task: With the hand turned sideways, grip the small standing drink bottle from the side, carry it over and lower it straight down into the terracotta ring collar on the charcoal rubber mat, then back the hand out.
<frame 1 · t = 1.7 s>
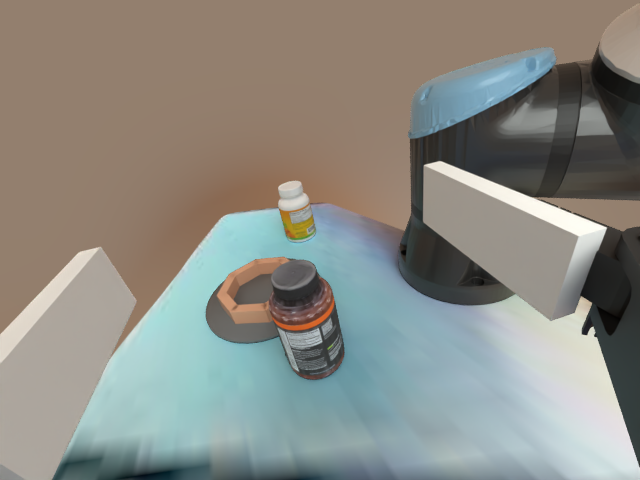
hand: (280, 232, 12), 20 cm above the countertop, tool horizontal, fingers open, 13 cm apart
supplement bottle: (317, 357, 31), on the countertop
supplement bottle 2: (301, 236, 53), on the countertop
mat: (265, 295, 40), on the countertop
collar: (264, 292, 40), resting on mat
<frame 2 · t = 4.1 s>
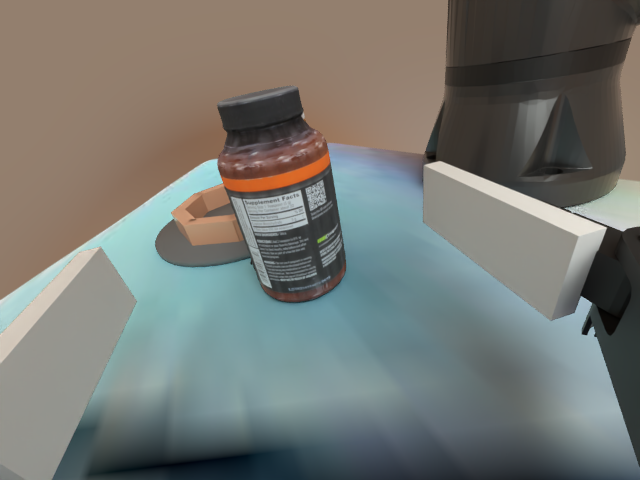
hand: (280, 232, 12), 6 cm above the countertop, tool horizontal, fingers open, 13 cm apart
supplement bottle: (304, 278, 20), on the countertop
mat: (239, 219, 30), on the countertop
collar: (238, 215, 29), resting on mat
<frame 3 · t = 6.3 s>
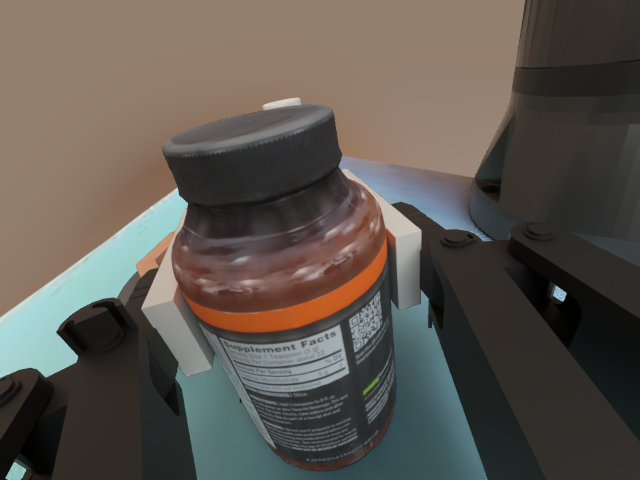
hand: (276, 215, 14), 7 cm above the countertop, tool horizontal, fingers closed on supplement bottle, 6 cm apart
supplement bottle: (326, 398, 13), on the countertop, touching gripper
mat: (230, 268, 22), on the countertop
collar: (228, 263, 22), resting on mat
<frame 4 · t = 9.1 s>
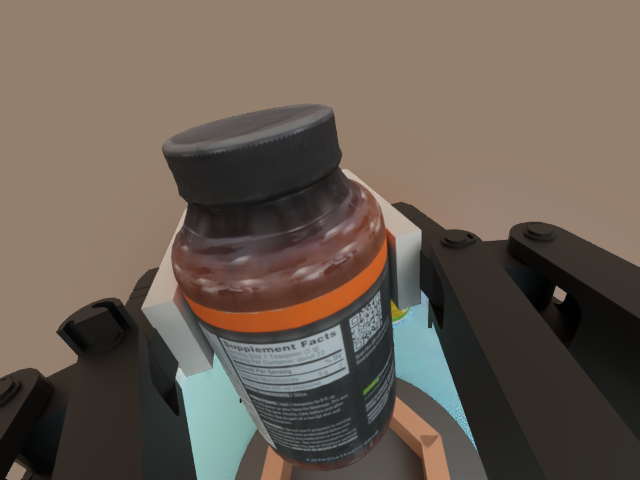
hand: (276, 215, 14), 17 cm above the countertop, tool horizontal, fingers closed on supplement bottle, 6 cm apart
supplement bottle: (326, 398, 13), point 10 cm above the countertop, touching gripper
when the fingers open (8 cm above the countertop, at t = 11.8 s): supplement bottle stays where it is, resting on mat.
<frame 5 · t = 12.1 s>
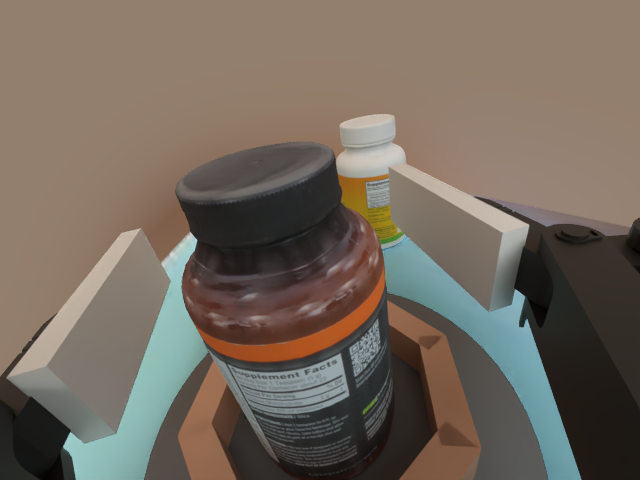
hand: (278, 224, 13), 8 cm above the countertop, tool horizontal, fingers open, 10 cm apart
supplement bottle: (327, 411, 13), resting on mat
supplement bottle 2: (376, 236, 26), on the countertop
mat: (330, 414, 13), on the countertop
collar: (328, 408, 13), resting on mat
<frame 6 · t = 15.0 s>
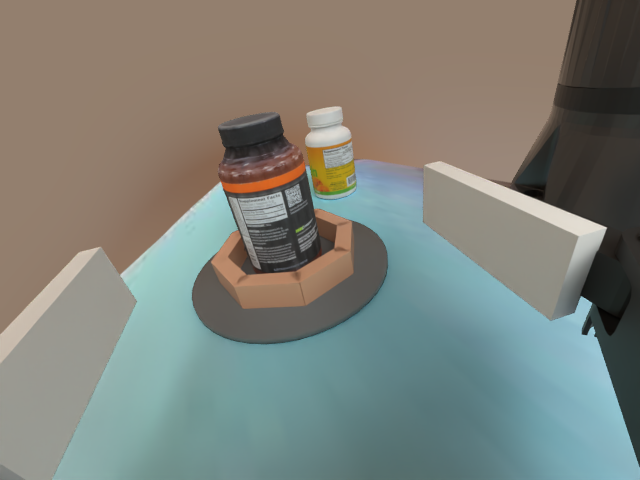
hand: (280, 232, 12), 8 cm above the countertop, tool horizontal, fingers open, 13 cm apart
supplement bottle: (288, 263, 24), resting on mat
supplement bottle 2: (336, 193, 37), on the countertop
mat: (290, 265, 25), on the countertop
collar: (289, 260, 24), resting on mat
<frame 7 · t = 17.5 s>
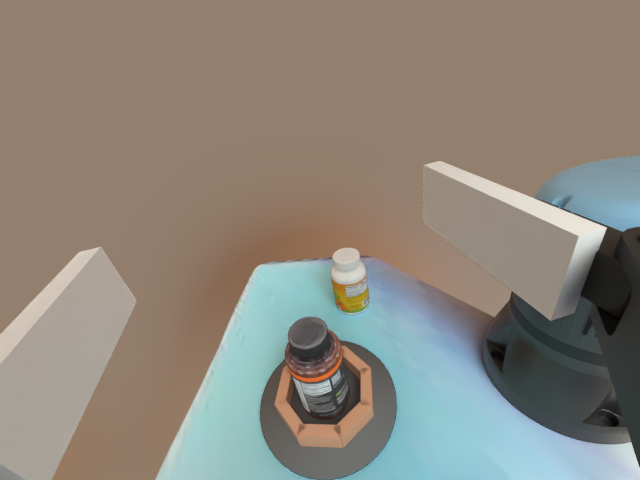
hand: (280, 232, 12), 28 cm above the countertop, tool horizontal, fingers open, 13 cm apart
supplement bottle: (326, 396, 34), resting on mat
supplement bottle 2: (353, 304, 47), on the countertop
mat: (327, 397, 35), on the countertop
collar: (326, 395, 34), resting on mat
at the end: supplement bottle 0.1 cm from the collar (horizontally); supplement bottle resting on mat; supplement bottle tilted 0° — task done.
